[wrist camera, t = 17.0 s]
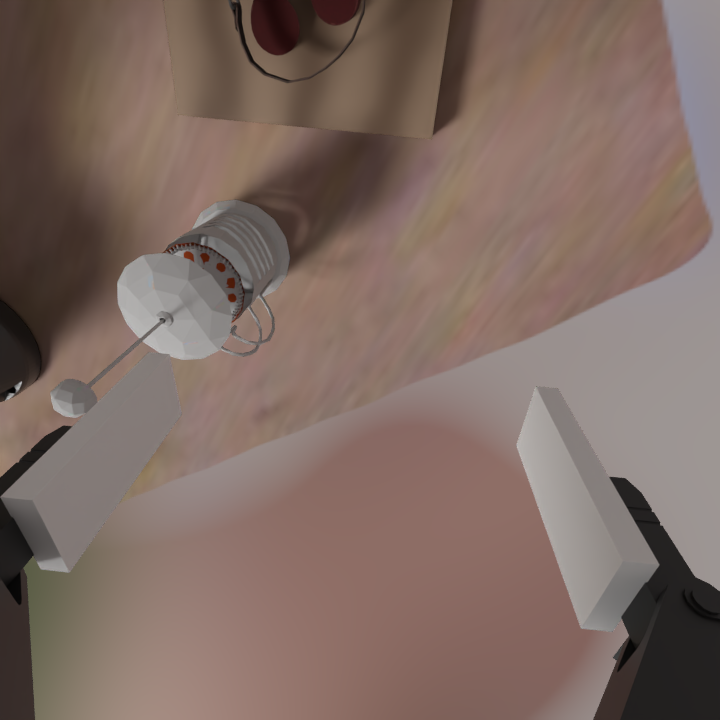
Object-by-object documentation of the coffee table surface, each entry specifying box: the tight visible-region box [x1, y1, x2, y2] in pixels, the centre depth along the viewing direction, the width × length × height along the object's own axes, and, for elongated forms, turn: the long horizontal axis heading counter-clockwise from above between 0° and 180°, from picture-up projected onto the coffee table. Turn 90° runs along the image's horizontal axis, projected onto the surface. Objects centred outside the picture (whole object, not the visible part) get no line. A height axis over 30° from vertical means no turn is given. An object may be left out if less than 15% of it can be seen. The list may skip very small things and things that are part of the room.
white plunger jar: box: [50, 200, 290, 418], centre depth 30 cm, size 10×12×25 cm
